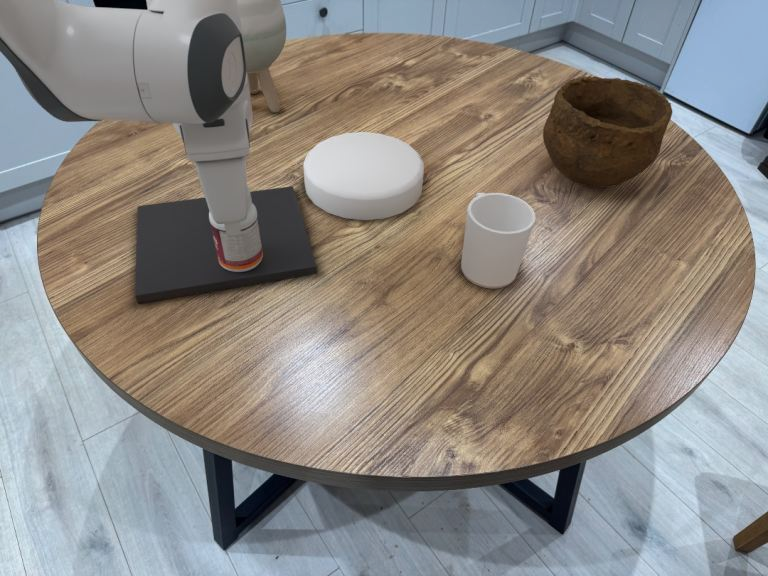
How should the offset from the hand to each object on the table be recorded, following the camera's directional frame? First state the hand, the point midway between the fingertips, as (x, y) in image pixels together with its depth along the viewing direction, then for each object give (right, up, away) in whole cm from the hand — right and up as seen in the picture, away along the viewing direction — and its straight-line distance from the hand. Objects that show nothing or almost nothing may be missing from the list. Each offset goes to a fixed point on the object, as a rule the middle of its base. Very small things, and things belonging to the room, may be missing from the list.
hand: (229, 208), depth 73 cm
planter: (-7, +27, +42) cm, 50 cm away
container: (+16, +7, +23) cm, 30 cm away
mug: (+35, -7, +10) cm, 37 cm away
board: (-4, -3, +11) cm, 12 cm away
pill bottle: (0, -6, +7) cm, 9 cm away
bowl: (+56, +9, +27) cm, 63 cm away
